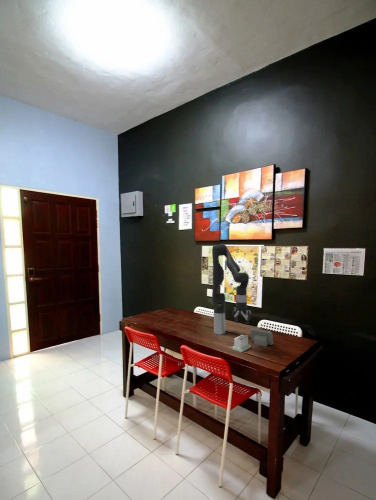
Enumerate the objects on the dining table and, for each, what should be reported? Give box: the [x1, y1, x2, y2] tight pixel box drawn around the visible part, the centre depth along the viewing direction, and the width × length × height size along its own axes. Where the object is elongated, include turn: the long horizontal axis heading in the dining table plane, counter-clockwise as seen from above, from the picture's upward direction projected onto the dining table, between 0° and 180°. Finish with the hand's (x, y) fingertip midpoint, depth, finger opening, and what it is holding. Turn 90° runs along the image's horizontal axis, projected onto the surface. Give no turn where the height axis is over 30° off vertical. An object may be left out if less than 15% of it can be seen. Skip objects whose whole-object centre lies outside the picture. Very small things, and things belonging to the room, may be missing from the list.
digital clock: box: [250, 327, 274, 348], centre depth 178 cm, size 16×9×11 cm, turn 44°
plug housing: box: [233, 334, 249, 349], centre depth 170 cm, size 10×5×7 cm, turn 136°
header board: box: [231, 344, 252, 353], centre depth 170 cm, size 12×8×6 cm, turn 136°
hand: (241, 323), depth 170 cm, fingers open, 8 cm apart
